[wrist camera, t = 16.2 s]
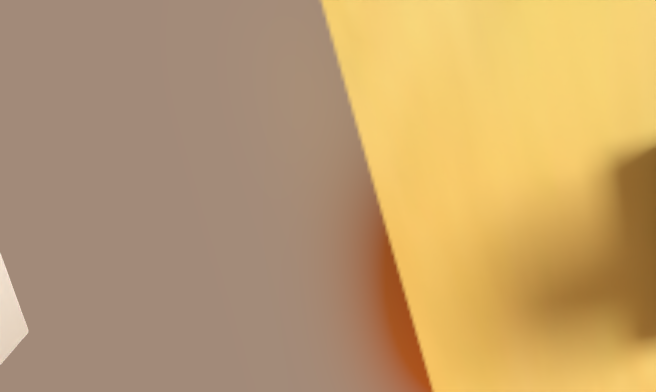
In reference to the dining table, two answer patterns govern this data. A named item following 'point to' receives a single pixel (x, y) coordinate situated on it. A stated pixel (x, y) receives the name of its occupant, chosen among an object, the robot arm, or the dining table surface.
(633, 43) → the dining table surface
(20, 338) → the robot arm
